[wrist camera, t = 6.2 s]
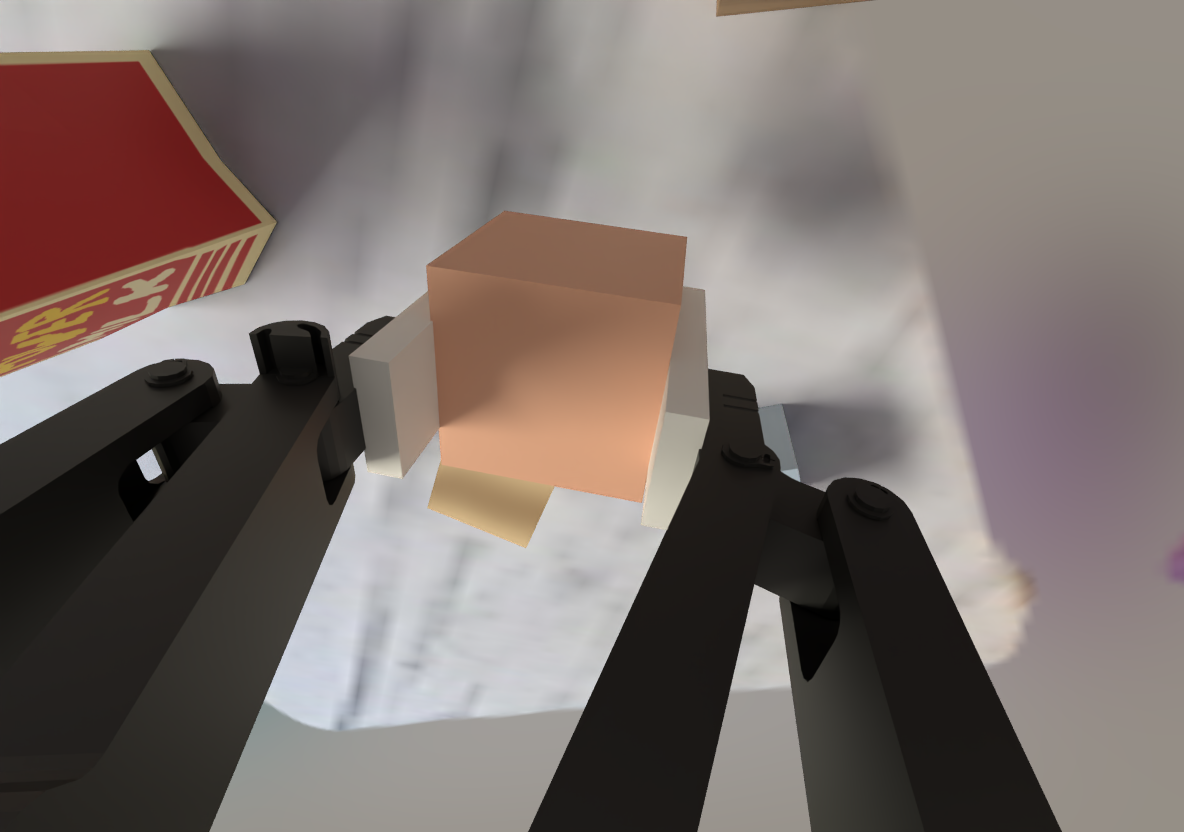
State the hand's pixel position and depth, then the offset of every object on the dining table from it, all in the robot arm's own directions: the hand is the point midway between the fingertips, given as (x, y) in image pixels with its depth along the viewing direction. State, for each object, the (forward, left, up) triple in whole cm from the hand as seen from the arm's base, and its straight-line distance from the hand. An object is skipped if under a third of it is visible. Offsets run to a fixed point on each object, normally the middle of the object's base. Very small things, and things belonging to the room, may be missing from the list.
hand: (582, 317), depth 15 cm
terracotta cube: (0, 0, 0) cm, 0 cm away
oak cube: (+10, -4, -8) cm, 14 cm away
